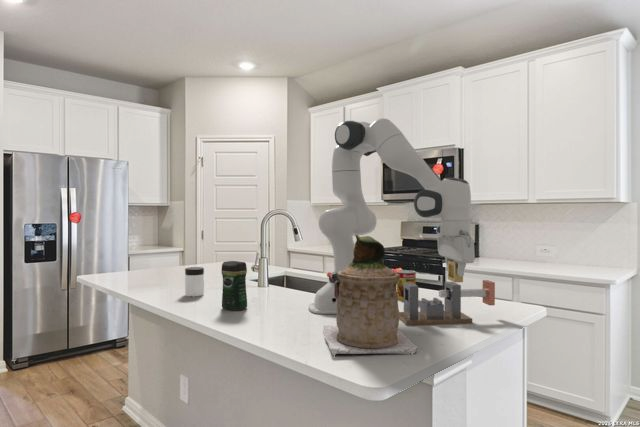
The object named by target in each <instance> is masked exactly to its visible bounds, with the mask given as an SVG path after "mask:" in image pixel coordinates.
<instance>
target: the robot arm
mask: <svg viewBox="0 0 640 427" xmlns="http://www.w3.org/2000/svg"><path fill="white" fill-rule="evenodd" d="M334 141H335V143H336V144H337V145H336V146H335V147H334V149H333V153H332V159H331V162H332V163H331V182H332V183H331V184H332V193H333V194H334V196H335V197H337V198H338V199H339V200H340V202H341V204H342V207H334V208H330V209H326V210H324V211H322V212H321V214H320V216H319V218H318V227H319V230H320V232H321V233H322V234H323V235H324V236H325V237H326V239H327V240H328V241H329V243H330V245H331V248H332V252H333V272H330V271H328V272H326V277H327V278H328V282H326V284H324V285H323V286H322V287H321V288H319V289H318V290H317V291H316V293H315V295H314V296H315V297H314V301H313V303H310V304H309V305H308V310H309V312H311V313H312V314H319V315H320V314H322V315H327V314H328V315H331V314H332V315H337V301H338V300H337V298H335V295H334V290H335V289H334V285H335V282H336V281H340V280H339V279H338V276H337V273H338V272H339V271H342V270H344V269H345V268H346V267H347V266H348V265H349V264H350V263H352V261H353V258H354V254H353V253H354V251H353V250H354V248H355V241H354V237H356V236H355V235H356V234H357V235H358V236H359V237H361V236H365V235H367V234H370V233H372V232H373V231H374V230H376V226H377V217H376V214H375V213H374V212H373V210H372V209H370V207H369V206H368V204H367V202H366V201H365V198H364V195H363V190H362V179H361V178H362V175H361V173H362V172H361V158H362V156H366V157H368V156H371V155H372V154H374V153H377V154H378V156H379V158H380V159H381V161H382V162H383V163H384V164H385V165H386V166H387V167H389V168H390V169H391V170H394V171H398V172H400V173H403V174H406V175H409V176H411V177H412V178H414V179H415V180H416V181H418V183H419V184H420V185H421V187H423V189H421V190H419V191H418V192H417V193H416V195H415V197H414V199H413V200H414V201H413V206H414V210H415V212H416V215H418V216H419V217H422V218H424V219H440V224H438V226H436V230H435V232H436V234H437V252H438V254H439V256H440V257H443V258H444V262H445V264H446V271H447V272H448V260H455V261H458V269H457V270H456V272H457V273H456V274H457V275H458V276H463V277H464V276H465V269H466V266H467V264H474V262H475V260H476V258H475V257H476V256H475V255H476V254H475V250H476V249H475V241H474V239H473V237H472V236H471V228H472V226H471V221H472V220H471V216H470V214H471V213H470V211H471V207H472V194H471V186H470V183H469V182H468V181H467V180H466V179H462V178H457V177H445V178H443V179H441V178H440V176H439V175H438V174H437V173H436V172H435V171H434V169H433V168H432V167H431V166H430V165H429V164H428V163H427V162H426V160H424V158H422V156H421V155H420V154H419V153H418V152H417V150H415V148H414V147H413V145H412V144H411V143H410V141H409V140H408V138H406V136H405V135H404V134H403V132H402V131H401V130H400V128H399V127H397V126H396V125H395V124H394V122H392V121H391V120H390V119H388V118H383V117H382V118H378V119H376V120H374V121H373V122H372V123H370V122H367V121H355V120H345V121H342V122H340V123H339V124H338V125H337V126H336V129H335V132H334Z"/></svg>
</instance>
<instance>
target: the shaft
mask: <svg viewBox="0 0 640 427" xmlns="http://www.w3.org/2000/svg"><path fill="white" fill-rule="evenodd" d="M495 291H496V282H495V281H492V280H489V279H482V288H474V289H473V288H470V289H469V288H468V289H466V288H465V289H462V288H461V298H477V297H482V303H484V304H486V305H487V306H495V305H496V296H495V295H496V292H495ZM438 297H439V298H441V299H442V298H446V297H451V290H444V289H439V290H438Z"/></svg>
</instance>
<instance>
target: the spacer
mask: <svg viewBox="0 0 640 427" xmlns="http://www.w3.org/2000/svg"><path fill="white" fill-rule="evenodd" d="M457 269H458V261H455V260H448V271H447V280H449V281H450V282H454V283H463V282H464V276H458V275H457V274H456V273H457V272H456V270H457Z"/></svg>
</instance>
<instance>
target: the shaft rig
mask: <svg viewBox="0 0 640 427" xmlns="http://www.w3.org/2000/svg"><path fill="white" fill-rule="evenodd" d="M443 290H451V297H446V298H444V303H443V300H441V299H439V298H438V297H433V298H432V300H429V299H427V298H425V297H422V298H421V300H419V286H418V285H417V284H416V285H415V284H413V283H404V301H403V311H399V313H400V319H399V321H401V322H402V323H403V324H404V325H405V326H429V325H430V326H432V325H453V324H454V325H457V324H459V323H461V324H473V318H472V317H471V316H468V315H467V314H465V313H463V312H462V307H461V306H462V300H461V299H462V297H461V290H462V285H461V284H459V283H458V282H453V281H444V289H443Z"/></svg>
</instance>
